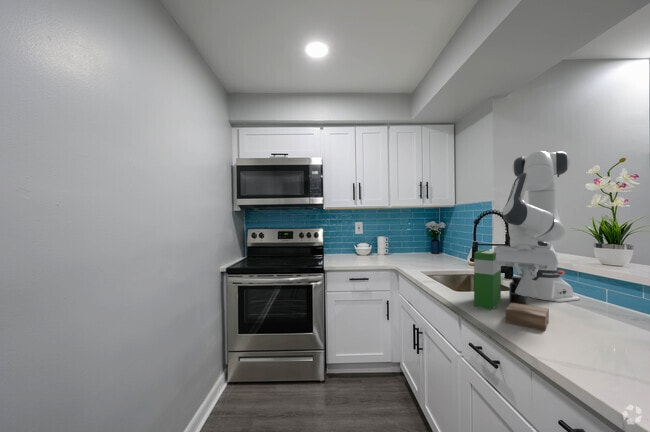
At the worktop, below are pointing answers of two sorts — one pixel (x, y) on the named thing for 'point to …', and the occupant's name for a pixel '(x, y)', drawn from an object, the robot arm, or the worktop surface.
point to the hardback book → (486, 280)
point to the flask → (526, 284)
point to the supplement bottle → (512, 287)
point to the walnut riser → (527, 316)
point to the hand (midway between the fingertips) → (527, 275)
